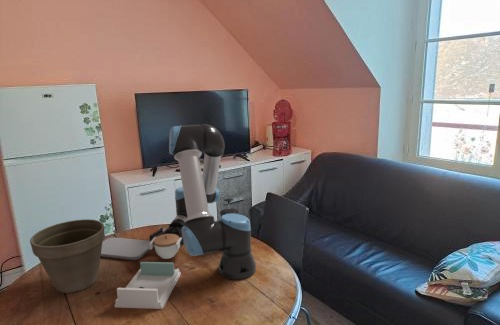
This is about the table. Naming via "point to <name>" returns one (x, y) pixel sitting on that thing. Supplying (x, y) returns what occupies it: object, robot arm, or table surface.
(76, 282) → the plant pot
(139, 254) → the tablet
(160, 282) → the pusher lane
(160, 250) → the lidded jar
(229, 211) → the french press
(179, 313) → the table surface
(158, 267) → the pusher plate
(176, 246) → the robot arm
